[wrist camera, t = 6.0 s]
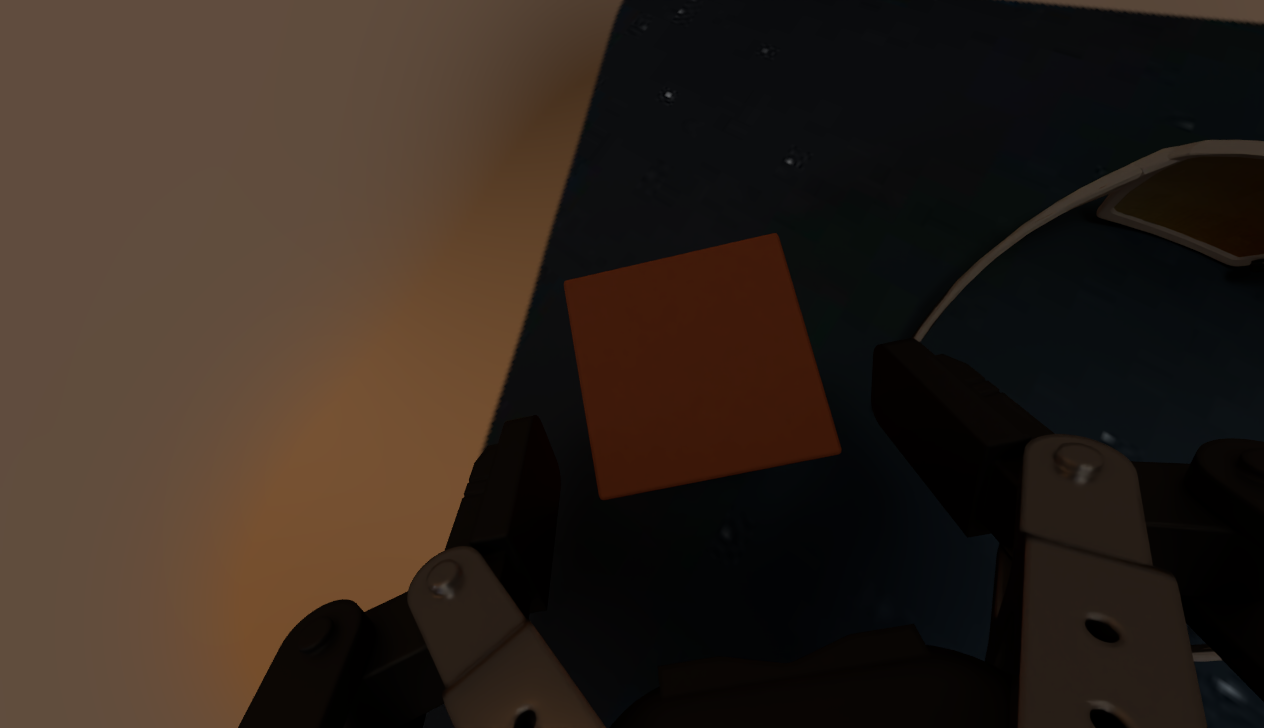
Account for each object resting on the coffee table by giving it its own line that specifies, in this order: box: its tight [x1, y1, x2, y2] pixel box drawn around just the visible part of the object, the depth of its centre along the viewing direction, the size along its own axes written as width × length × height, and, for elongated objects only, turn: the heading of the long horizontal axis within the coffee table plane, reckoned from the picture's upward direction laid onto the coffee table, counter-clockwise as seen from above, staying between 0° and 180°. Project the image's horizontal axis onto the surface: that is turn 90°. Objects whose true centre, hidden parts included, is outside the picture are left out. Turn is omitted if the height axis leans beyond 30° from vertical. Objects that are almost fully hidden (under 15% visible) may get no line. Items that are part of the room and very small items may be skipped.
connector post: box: [564, 233, 841, 500], centre depth 15 cm, size 5×5×9 cm
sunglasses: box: [911, 140, 1264, 661], centre depth 16 cm, size 14×15×5 cm
